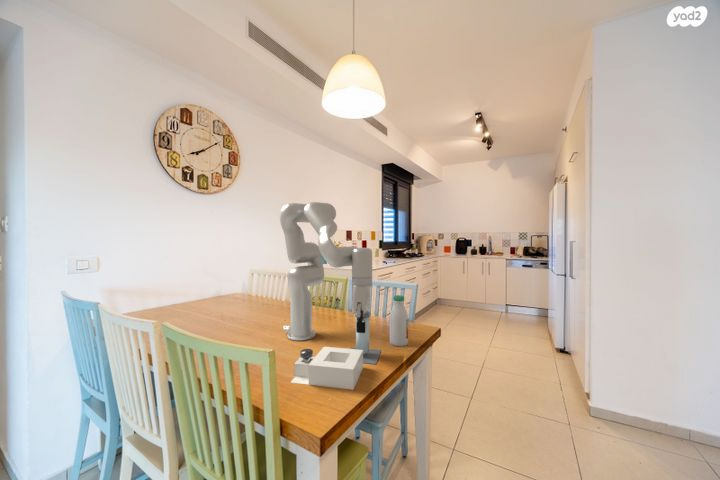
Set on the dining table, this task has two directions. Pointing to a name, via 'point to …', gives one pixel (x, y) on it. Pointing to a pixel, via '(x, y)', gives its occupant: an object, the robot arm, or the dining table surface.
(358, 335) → the cartridge
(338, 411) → the dining table surface
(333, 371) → the housing
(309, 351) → the plunger
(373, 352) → the mat
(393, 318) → the milk bottle
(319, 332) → the dining table surface
